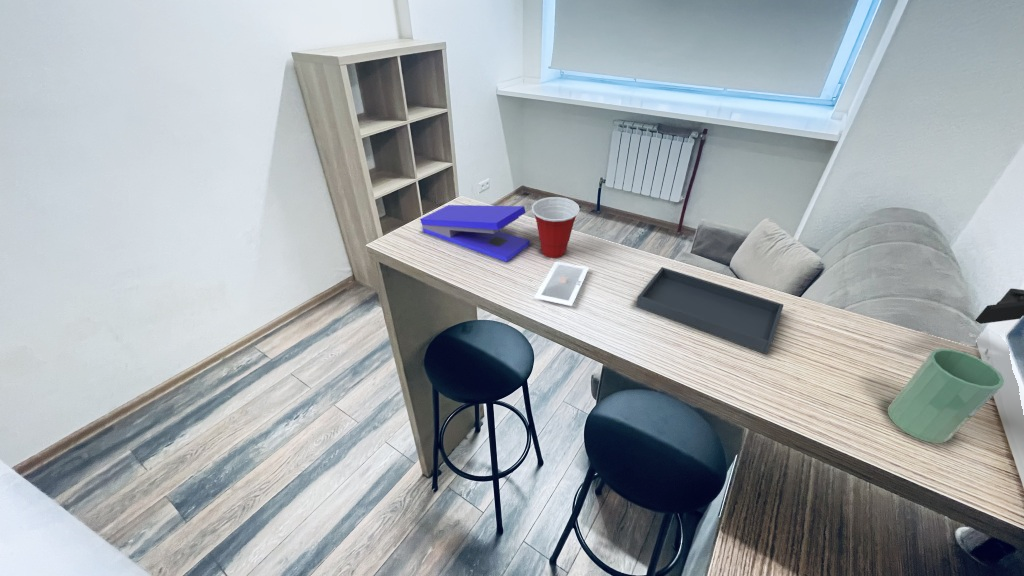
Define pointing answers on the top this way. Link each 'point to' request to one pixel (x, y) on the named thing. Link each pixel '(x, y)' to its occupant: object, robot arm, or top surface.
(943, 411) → the tumbler
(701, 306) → the tray
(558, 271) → the touchpad
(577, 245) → the top surface
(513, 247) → the stapler
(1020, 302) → the robot arm
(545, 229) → the plastic cup
